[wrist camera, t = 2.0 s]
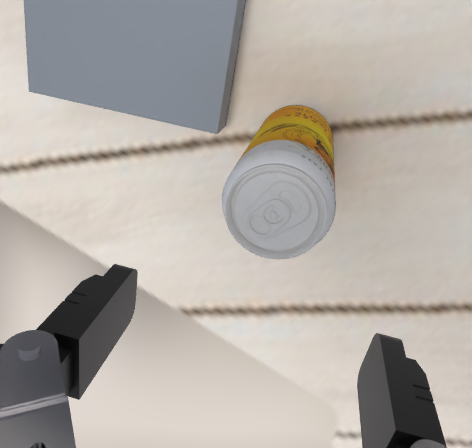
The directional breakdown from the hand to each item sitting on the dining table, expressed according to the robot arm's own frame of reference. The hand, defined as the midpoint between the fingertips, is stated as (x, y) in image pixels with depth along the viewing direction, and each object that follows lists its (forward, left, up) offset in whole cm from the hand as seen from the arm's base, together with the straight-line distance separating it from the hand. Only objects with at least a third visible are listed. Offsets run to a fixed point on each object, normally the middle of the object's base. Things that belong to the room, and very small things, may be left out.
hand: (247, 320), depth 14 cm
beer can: (0, 0, -24) cm, 24 cm away
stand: (+14, -8, -24) cm, 29 cm away
